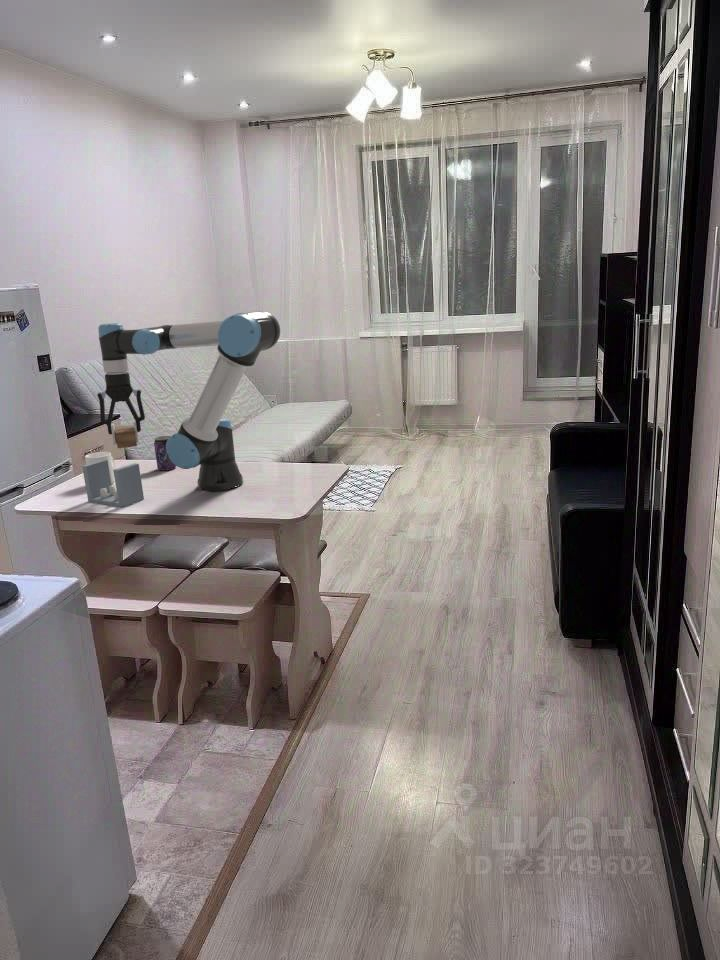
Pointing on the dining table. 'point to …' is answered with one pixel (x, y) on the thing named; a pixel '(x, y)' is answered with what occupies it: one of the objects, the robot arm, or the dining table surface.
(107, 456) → the mug
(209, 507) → the dining table surface
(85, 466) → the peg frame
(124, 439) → the brown wooden block
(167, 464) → the beverage can
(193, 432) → the robot arm
